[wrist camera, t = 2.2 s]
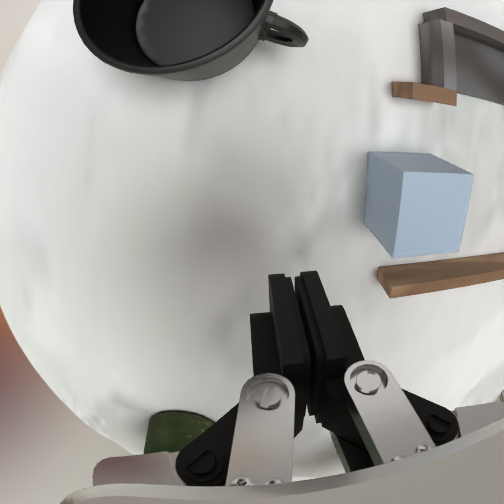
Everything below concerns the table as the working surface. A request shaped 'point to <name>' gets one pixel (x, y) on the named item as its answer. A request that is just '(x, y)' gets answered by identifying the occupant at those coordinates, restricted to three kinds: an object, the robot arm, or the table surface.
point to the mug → (180, 34)
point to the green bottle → (174, 431)
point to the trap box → (445, 91)
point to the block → (416, 203)
